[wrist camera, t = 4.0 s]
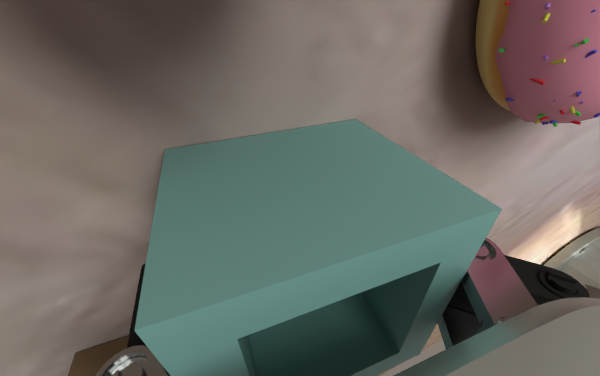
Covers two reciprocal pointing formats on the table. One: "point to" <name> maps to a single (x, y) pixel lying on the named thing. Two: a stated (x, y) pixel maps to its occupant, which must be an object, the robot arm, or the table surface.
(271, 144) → the collar
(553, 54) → the doughnut
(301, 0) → the table surface
